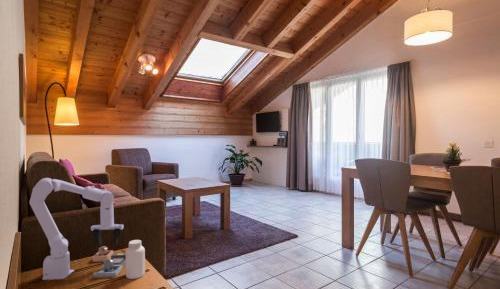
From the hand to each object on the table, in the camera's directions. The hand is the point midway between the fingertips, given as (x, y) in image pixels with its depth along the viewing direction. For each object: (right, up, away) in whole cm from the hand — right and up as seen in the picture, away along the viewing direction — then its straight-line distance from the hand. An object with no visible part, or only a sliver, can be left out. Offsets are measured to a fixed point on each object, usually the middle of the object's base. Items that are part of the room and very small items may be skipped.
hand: (107, 244), depth 137 cm
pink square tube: (-6, -10, +7) cm, 13 cm away
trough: (+5, -10, -9) cm, 14 cm away
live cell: (+5, -10, -8) cm, 14 cm away
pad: (+4, -9, 0) cm, 10 cm away
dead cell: (-6, -10, +7) cm, 13 cm away
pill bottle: (+18, -10, -11) cm, 23 cm away
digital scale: (+4, -10, +1) cm, 11 cm away
